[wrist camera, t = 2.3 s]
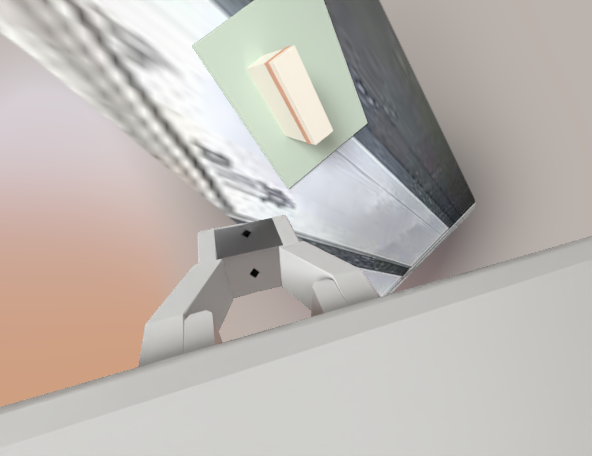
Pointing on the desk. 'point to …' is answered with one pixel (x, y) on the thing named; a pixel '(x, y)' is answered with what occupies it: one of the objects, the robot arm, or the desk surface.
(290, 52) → the card box
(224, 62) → the mat
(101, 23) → the desk surface
